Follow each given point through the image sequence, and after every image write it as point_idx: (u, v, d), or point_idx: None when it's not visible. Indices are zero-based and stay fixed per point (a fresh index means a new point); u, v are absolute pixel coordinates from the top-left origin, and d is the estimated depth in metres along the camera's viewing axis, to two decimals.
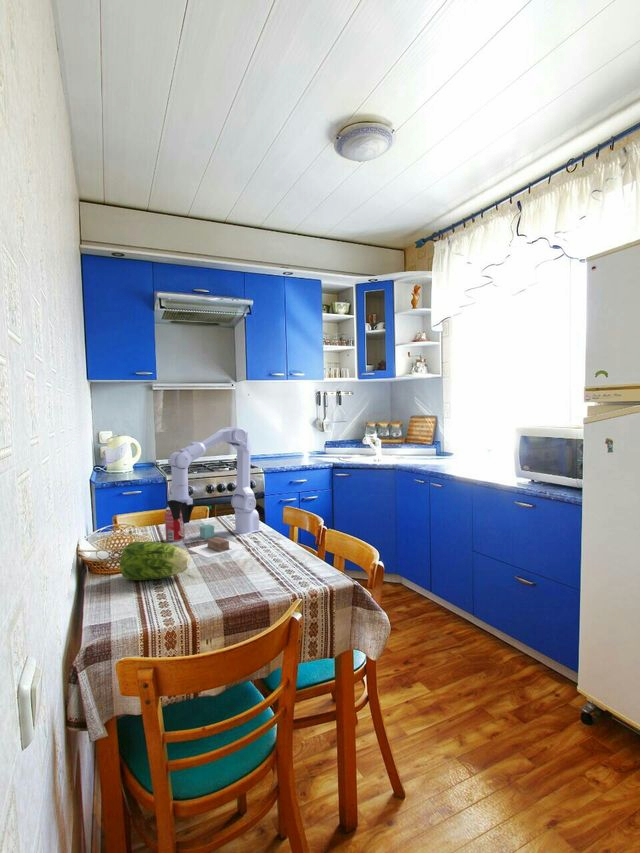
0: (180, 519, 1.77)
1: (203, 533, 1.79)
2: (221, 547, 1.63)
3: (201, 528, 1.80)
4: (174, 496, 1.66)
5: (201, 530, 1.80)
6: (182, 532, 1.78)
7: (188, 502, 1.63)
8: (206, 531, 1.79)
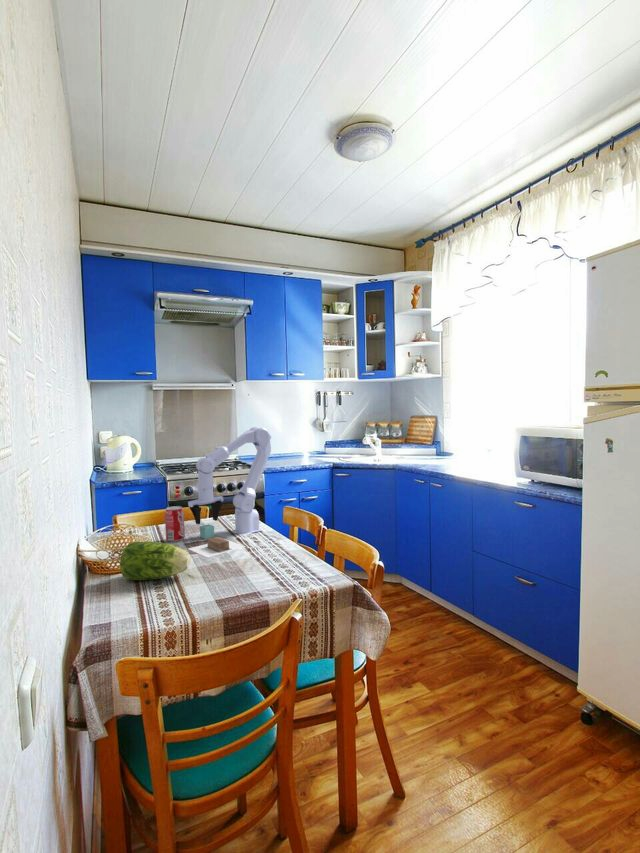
0: (180, 519, 1.77)
1: (203, 533, 1.79)
2: (221, 547, 1.63)
3: (201, 528, 1.80)
4: None
5: (201, 530, 1.80)
6: (182, 532, 1.78)
7: (188, 504, 1.76)
8: (206, 531, 1.79)
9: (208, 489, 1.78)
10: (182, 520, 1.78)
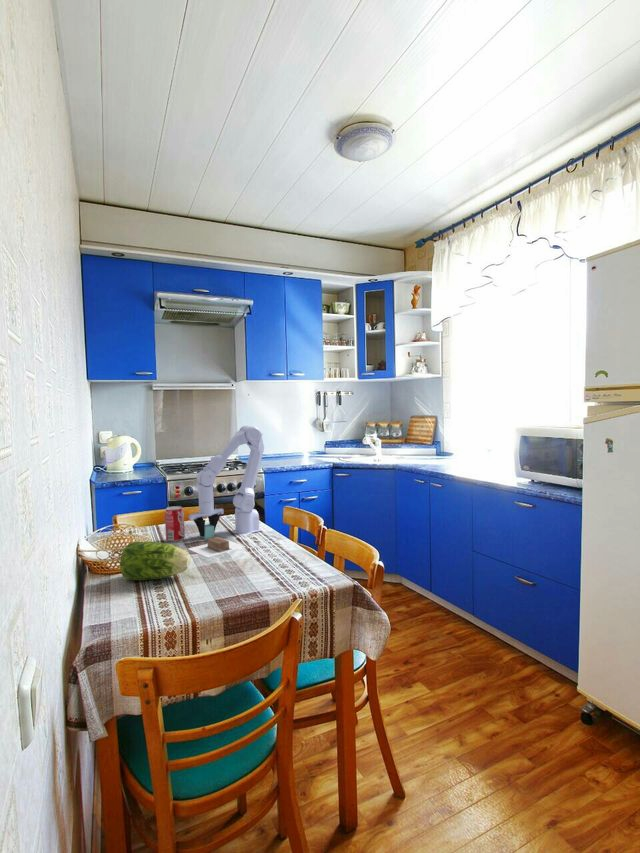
0: (180, 519, 1.77)
1: None
2: (221, 547, 1.63)
3: None
4: None
5: None
6: (182, 532, 1.78)
7: (189, 517, 1.76)
8: (206, 531, 1.79)
9: (208, 502, 1.78)
10: (182, 520, 1.78)
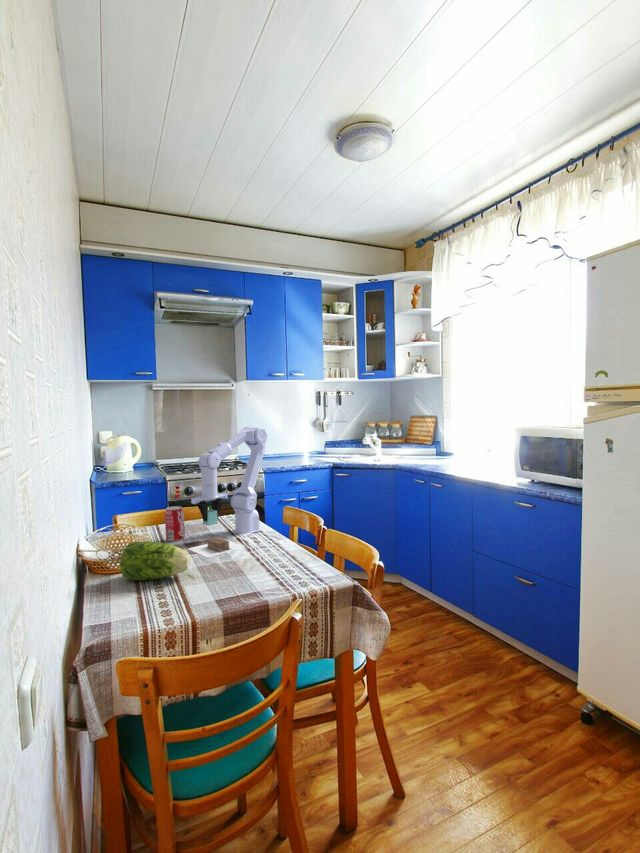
0: (180, 519, 1.77)
1: None
2: (221, 547, 1.63)
3: None
4: None
5: None
6: (182, 532, 1.78)
7: (191, 501, 1.70)
8: (209, 516, 1.73)
9: (212, 485, 1.72)
10: (182, 520, 1.78)
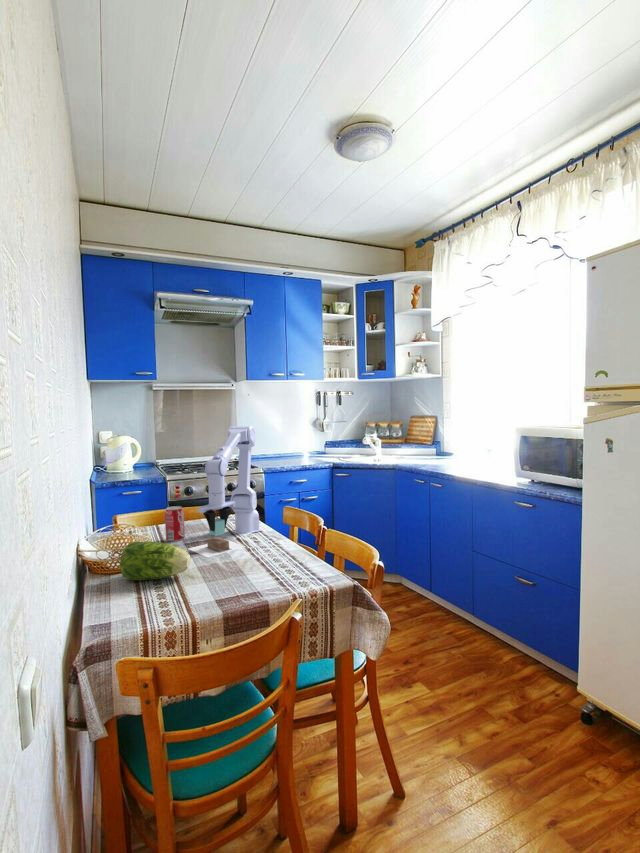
0: (180, 519, 1.77)
1: None
2: (221, 547, 1.63)
3: None
4: None
5: None
6: (182, 532, 1.78)
7: (198, 510, 1.61)
8: (216, 525, 1.64)
9: (219, 493, 1.63)
10: (182, 520, 1.78)
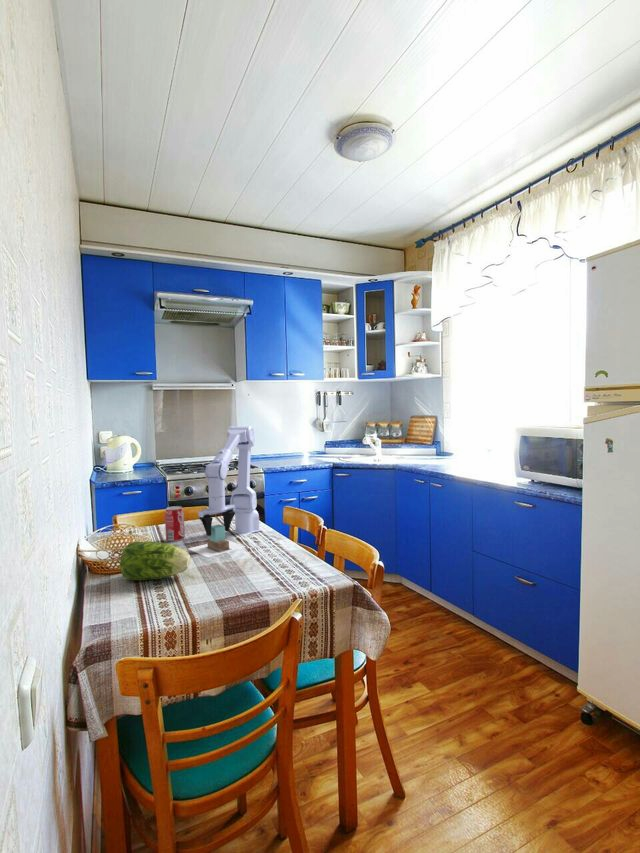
0: (180, 519, 1.77)
1: (213, 534, 1.64)
2: (221, 547, 1.63)
3: (211, 528, 1.65)
4: None
5: (211, 531, 1.65)
6: (182, 532, 1.78)
7: (198, 514, 1.61)
8: (216, 532, 1.64)
9: (220, 497, 1.63)
10: (182, 520, 1.78)
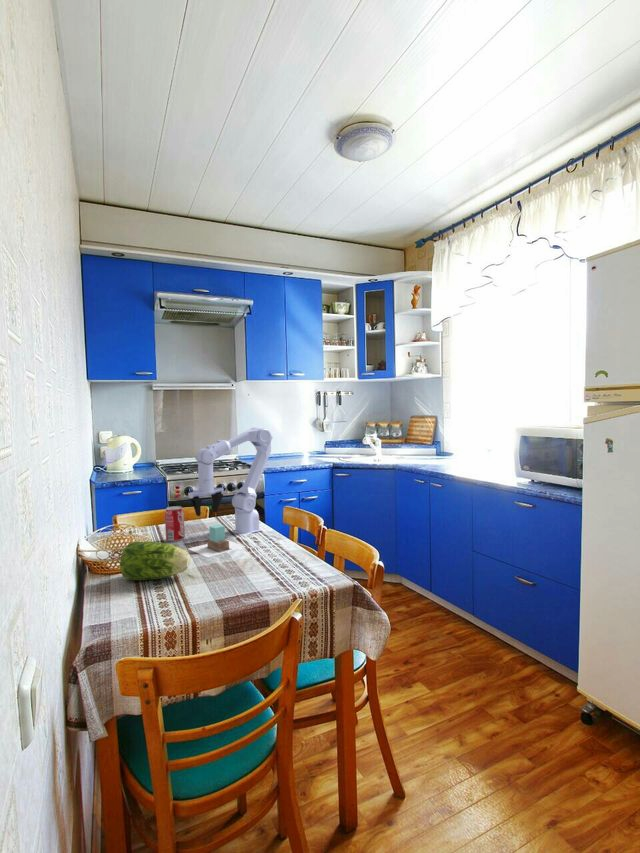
0: (180, 519, 1.77)
1: (213, 534, 1.64)
2: (221, 547, 1.63)
3: (211, 528, 1.65)
4: None
5: (211, 531, 1.65)
6: (182, 532, 1.78)
7: (188, 495, 1.74)
8: (216, 532, 1.64)
9: (208, 480, 1.76)
10: (182, 520, 1.78)
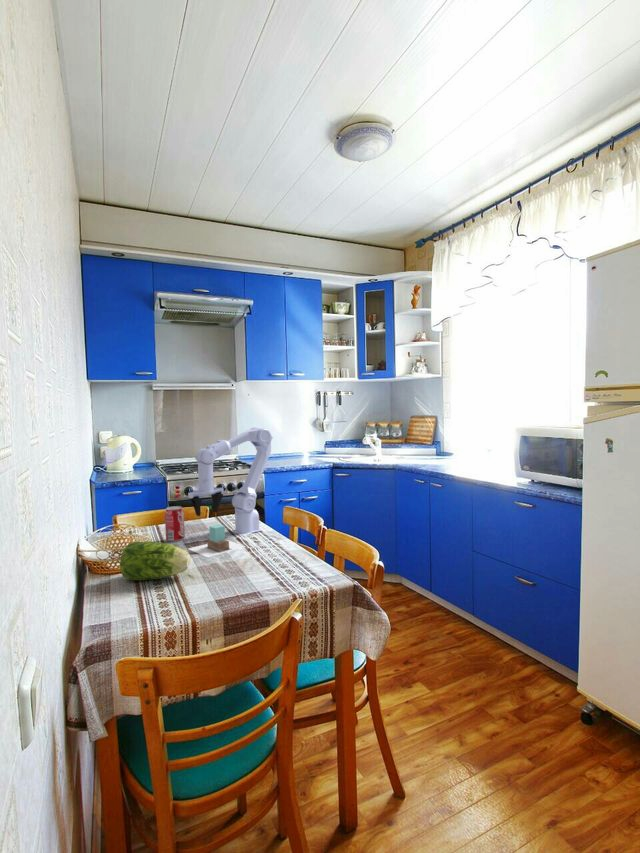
0: (180, 519, 1.77)
1: (213, 534, 1.64)
2: (221, 547, 1.63)
3: (211, 528, 1.65)
4: None
5: (211, 531, 1.65)
6: (182, 532, 1.78)
7: (188, 495, 1.74)
8: (216, 532, 1.64)
9: (208, 480, 1.76)
10: (182, 520, 1.78)
